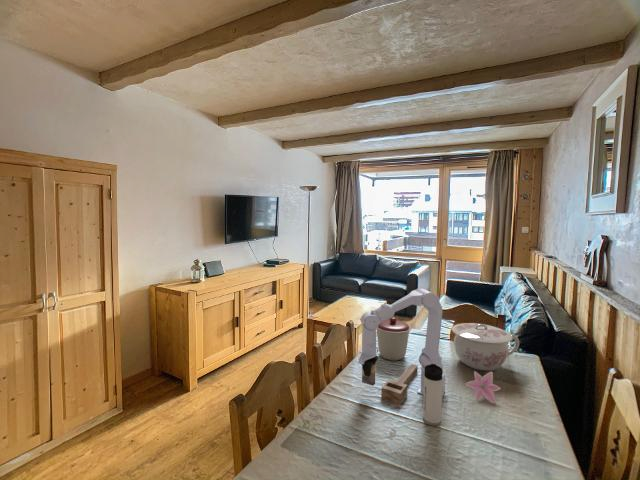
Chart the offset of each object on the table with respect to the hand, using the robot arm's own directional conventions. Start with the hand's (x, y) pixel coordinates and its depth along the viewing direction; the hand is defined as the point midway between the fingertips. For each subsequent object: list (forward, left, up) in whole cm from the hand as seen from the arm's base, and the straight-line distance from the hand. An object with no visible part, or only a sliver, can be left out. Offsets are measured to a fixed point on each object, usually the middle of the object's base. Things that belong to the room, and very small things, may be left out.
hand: (368, 374), depth 134 cm
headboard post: (-9, -17, -9) cm, 21 cm away
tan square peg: (0, 0, -4) cm, 4 cm away
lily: (-39, -27, -10) cm, 49 cm away
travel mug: (-26, +1, -10) cm, 28 cm away
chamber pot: (-34, -58, -10) cm, 68 cm away
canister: (+6, -42, -10) cm, 44 cm away
